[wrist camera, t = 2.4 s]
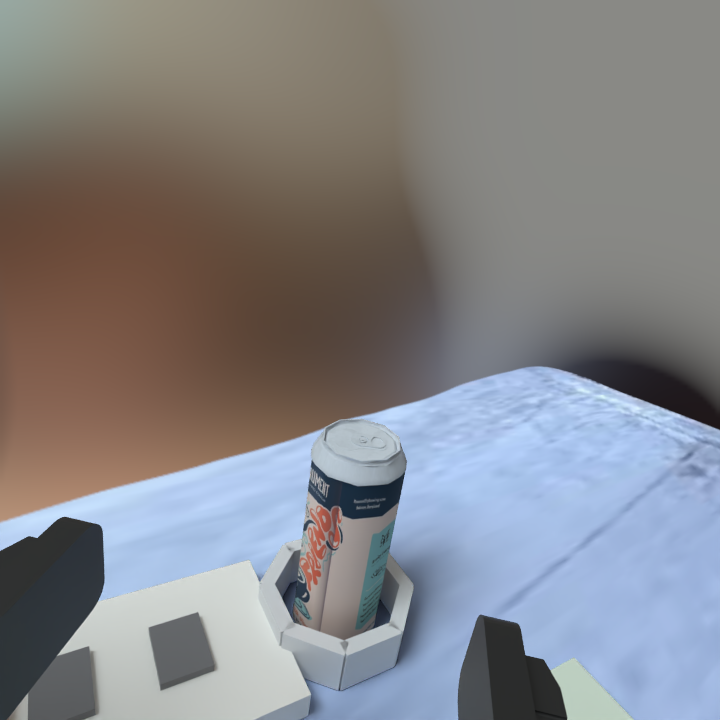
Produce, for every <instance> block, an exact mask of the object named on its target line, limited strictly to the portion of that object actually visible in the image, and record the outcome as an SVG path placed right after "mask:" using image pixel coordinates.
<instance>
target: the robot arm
mask: <svg viewBox="0 0 720 720" xmlns="http://www.w3.org/2000/svg"><path fill="white" fill-rule="evenodd" d="M103 586H104V553H103V531H102V528H101V526H100V525H98V524H94V523H90V522H85V521H81V520H77V519H72V518H68V517H62V518H60V519H58V520H57V521H55V522H54V523H53V524H52V525H51V526H50V527H49V528H48V529H47V530H46V531H44V532H43V533H42V534H41V535H40V536H39V537H38V538H34V537H30V536H28V537H26V538H24V539H23V540H21V541H19V542H17V543H15V544H13V545H11V546H9V547H7V548H5V549H3V550H1V551H0V720H7V719H8V718H9V717H10V715H11V714H12V713H13V711H14V710H15V709H16V708H17V706H18V705H19V704H20V702H21V701H22V700H23V699H24V697H25V696H26V695H27V694H28V692H29V691H30V690H31V688H32V687H33V686H34V685H35V683H36V682H37V681H38V680H39V678H40V677H41V676H42V674H43V673H44V672H45V671H46V669H47V668H48V667H49V665H50V664H51V663H52V662H53V660H54V659H55V658H56V657H57V655H58V654H59V653H60V651H61V650H62V649H63V648H64V646H65V645H66V644H67V642H68V641H69V640H70V639H71V637H72V636H73V635H74V634H75V632H76V631H77V630H78V628H79V627H80V626H81V625H82V623H83V622H84V621H85V620H86V618H87V617H88V616H89V614H90V613H91V612H92V610H93V609H94V607H95V606H96V604H97V602H98V600H99V598H100V595H101V593H102V590H103ZM458 720H567V713H566V709H565V705H564V700H563V696H562V692H561V688H560V686H559V684H558V683H557V681H556V679H555V678H554V676H553V674H552V673H551V671H550V669H549V668H548V666H547V664H546V663H545V661H544V660H543V659H539V658H534V657H530V656H526V655H525V651H524V645H523V640H522V634H521V629H520V626H519V625H518V624H517V623H514V622H510V621H505V620H501V619H497V618H493V617H488V616H484V615H479V617H478V619H477V621H476V624H475V627H474V630H473V634H472V637H471V640H470V643H469V646H468V649H467V652H466V656H465V659H464V662H463V665H462V669H461V673H460V679H459V688H458Z"/></svg>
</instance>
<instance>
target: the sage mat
mask: <svg viewBox="0 0 720 720" xmlns="http://www.w3.org/2000/svg"><path fill="white" fill-rule="evenodd" d="M550 671H551V673H552V674H553V676H554V678H555V679H556V681H557V683H558V684H559V686H560V688H561V692H562V696H563V700H564V705H565V709H566V713H567V720H634V719H633V718H632V717H631V716H630V715H629V714H628V713H627V712H626V711H625V710H624V709H623V708H622V707H621V706H620V705H619V704H618V703H617V702H616V701H615V700H614V699H613V698H612V697H611V696H610V695H609V694H608V692H607V691H606V690H605V689H604V688H603V687H602V686H601V685H600V684H599V683H598V682H597V681H596V680H595V679H594V678H593V677H592V676H591V675H590V674H589V673H588V672H587V671H586V670H585V669H584V668H583V666H582V665H581V664H580V663H579V662H578V661H577V660H576V659H575V658H572V659H570V660H568V661H567V662H565V663H563V664H561V665H559V666H558V667H556V668H554V669H552V670H550Z"/></svg>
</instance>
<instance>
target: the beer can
mask: <svg viewBox="0 0 720 720" xmlns="http://www.w3.org/2000/svg"><path fill="white" fill-rule="evenodd" d="M311 457H312V463H311V471H310V479H309V488H308V496H307V504H306V512H305V521H304V529H303V537H302V546H301V554H300V562H299V571H298V579H297V587H296V596H295V601H294V604H293V619H294V622H295V623H296V624H299V625H302V626H305V627H308V628H310V629H313V630H316V631H319V632H322V633H325V634H328V635H330V636H333V637H336V638H339V639H342V640H346V639H349V638H351V637H354V636H356V635H359V634H362V633H364V632H367V631H369V630H372V628H373V626H374V624H375V618H376V613H377V608H378V603H379V598H380V593H381V589H382V584H383V579H384V574H385V569H386V564H387V559H388V554H389V549H390V544H391V539H392V534H393V529H394V524H395V519H396V514H397V509H398V505H399V500H400V495H401V490H402V485H403V480H404V475H405V470H406V463H407V461H406V457H405V454H404V452H403V450H402V447H401V443H400V440H399V436H397V435H396V434H395V433H393V432H392V431H391V430H390V429H388V428H387V427H386V426H385V425H381V424H378V423H374V422H371V421H367V420H364V419H347V420H338V421H336V422H334V423H333V424H331V425H329V426H327V427H325V429H324V431H323V432H322V433H321V435H320V436H319V437H318V438H317V440H316V441H315V442H314V444H313V447H312V449H311Z"/></svg>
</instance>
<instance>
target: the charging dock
mask: <svg viewBox="0 0 720 720" xmlns="http://www.w3.org/2000/svg"><path fill="white" fill-rule="evenodd" d="M301 546H302V539H299V540H295V541H291V542H288V543H285V545H282V547H281V549H280V550H279V552H278V553H277V555H276V557H275V558H274V560H273V562H272V563H271V565H270V566H269V568H268V570H267V571H266V573H265V575H264V576H263V578H262V579H261V581H260V582H259V580H258V578H257V576H256V573H255V571H254V569H253V567H252V565H251V562H250V560H247V561H243V562H240V563H236V564H232V565H229V566H225V567H222V568H218V569H214V570H211V571H207V572H203V573H200V574H196V575H193V576H189V577H185V578H182V579H178V580H174V581H171V582H167V583H164V584H160V585H156V586H153V587H149V588H146V589H142V590H138V591H135V592H131V593H127V594H124V595H120V596H117V597H113V598H109V599H106V600H102V601H98V602H97V604H96V606H95V607H94V609H93V610H92V612H91V613H90V614H89V616H88V617H87V618H86V620H85V621H84V622H83V623H82V625H81V626H80V627H79V628H78V630H77V631H76V632H75V634H74V635H73V636H72V637H71V639H70V640H69V641H68V642H67V644H66V645H65V646H64V648H63V649H62V650H61V651H60V653H59V654H58V655H57V657H56V658H55V659H54V660H53V662H52V663H51V664H50V665H49V667H48V668H47V669H46V671H45V672H44V673H43V674H42V676H41V677H40V678H39V680H38V681H37V682H36V683H35V685H34V686H33V687H32V688H31V690H30V691H29V692H28V694H27V695H26V696H25V697H24V699H23V700H22V701H21V702H20V704H19V705H18V706H17V708H16V709H15V710H14V711H13V713H12V714H11V715H10V717H9V718H8V719H7V720H300V719H302V718H305V717H307V716H308V713H309V706H310V699H311V693H310V691H309V689H308V687H307V684H306V682H305V680H304V678H305V679H307V680H310V681H313V682H315V683H318V684H321V685H324V686H326V687H329V688H332V689H334V690H337V691H338V690H339V688H340V690H341V691H342V690H344V689H346V688H348V687H351V686H353V685H355V684H357V683H360V682H362V681H364V680H366V679H368V678H371V677H373V676H375V675H377V674H380V673H382V672H384V671H386V670H389V669H391V668H393V667H394V665H396V661H397V657H398V653H399V648H400V644H401V640H402V636H403V632H404V627H405V623H406V619H407V615H408V610H409V606H410V602H411V597H412V593H413V589H414V586H413V585H414V584H413V583H412V582H411V580H410V579H409V578H408V576H407V575H406V574H405V573H404V571H403V570H402V569H401V567H400V566H399V565H398V564H397V562H396V561H395V560H394V558H393V557H392V556H391V555H390V553H389V554H388V559H387V564H386V569H385V574H384V579H383V584H382V589H381V593H380V600H381V601H382V602H383V604H384V605H385V607H386V608H387V610H388V611H389V613H390V614H391V619H390V622H389V623H387V624H384V625H382V626H379V627H377V628H374V629H372V630H369V631H367V632H364V633H362V634H359V635H356V636H354V637H351V638H349V639H346V640H342V639H339V638H336V637H333V636H330V635H328V634H325V633H322V632H319V631H316V630H313V629H310V628H308V627H305V626H302V625H299V624H296V623H294V622H293V620H292V618H291V616H290V614H289V612H288V610H287V608H286V606H285V604H284V602H283V600H282V597H283V595H284V593H285V592H286V590H287V588H288V586H289V584H290V583H292V582H295V581H297V579H298V571H299V562H300V554H301Z"/></svg>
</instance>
